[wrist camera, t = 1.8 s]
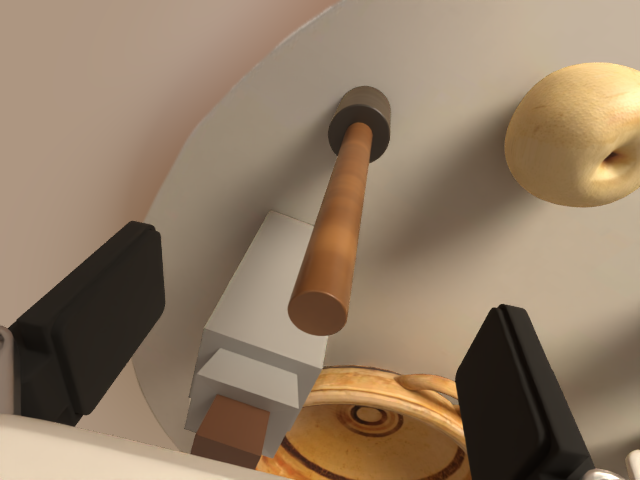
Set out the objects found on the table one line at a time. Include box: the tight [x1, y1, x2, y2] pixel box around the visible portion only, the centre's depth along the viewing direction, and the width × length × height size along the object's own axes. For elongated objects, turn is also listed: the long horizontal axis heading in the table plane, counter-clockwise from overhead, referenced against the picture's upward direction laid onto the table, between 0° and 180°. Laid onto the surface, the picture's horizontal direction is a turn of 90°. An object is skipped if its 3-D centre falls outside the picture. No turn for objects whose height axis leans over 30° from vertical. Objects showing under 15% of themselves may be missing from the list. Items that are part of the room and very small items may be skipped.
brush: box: [287, 86, 391, 336], centre depth 19 cm, size 4×4×20 cm
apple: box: [505, 63, 640, 207], centre depth 23 cm, size 8×8×8 cm
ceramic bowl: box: [255, 365, 472, 480], centre depth 40 cm, size 30×24×8 cm
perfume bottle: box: [184, 210, 329, 470], centre depth 27 cm, size 7×7×18 cm
